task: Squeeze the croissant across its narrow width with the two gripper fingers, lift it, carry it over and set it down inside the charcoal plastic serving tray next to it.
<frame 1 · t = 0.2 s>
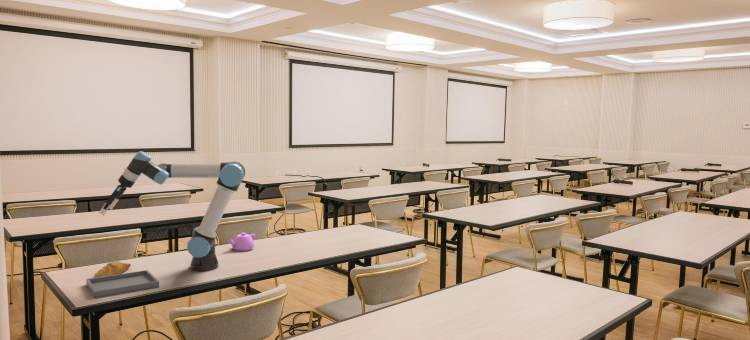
hand: (105, 211, 272), 35 cm above the table, tool tilted 35°, fingers open, 13 cm apart
croissant: (112, 274, 280), on the table
teapot: (242, 249, 338), on the table
serving tray: (122, 285, 261), on the table
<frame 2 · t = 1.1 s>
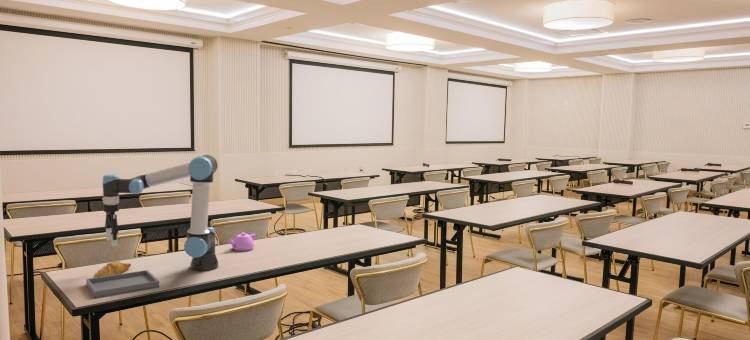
hand: (111, 243, 278), 17 cm above the table, tool pointing down, fingers open, 13 cm apart
nothing on the table moved.
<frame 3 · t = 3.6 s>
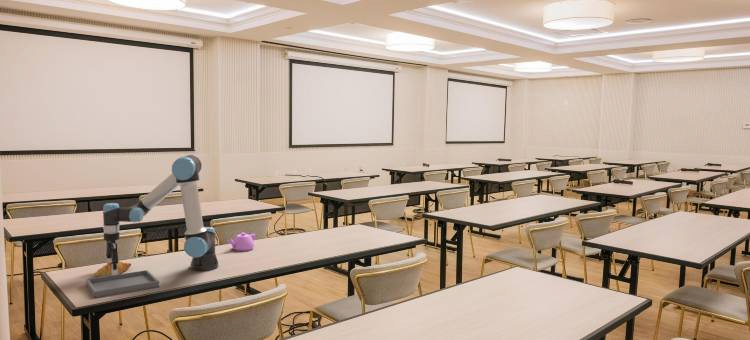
hand: (112, 272, 280), 0 cm above the table, tool pointing down, fingers closed on croissant, 10 cm apart
croissant: (112, 273, 280), on the table, touching gripper
everything else where it was.
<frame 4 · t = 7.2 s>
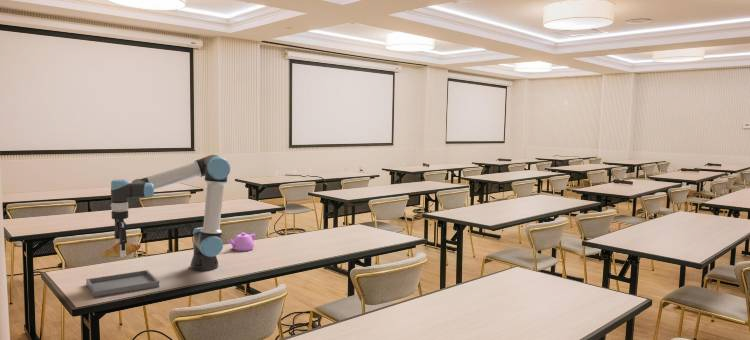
hand: (120, 253, 262), 16 cm above the table, tool pointing down, fingers closed on croissant, 10 cm apart
croissant: (120, 255, 262), point 15 cm above the table, touching gripper
everything else where it was.
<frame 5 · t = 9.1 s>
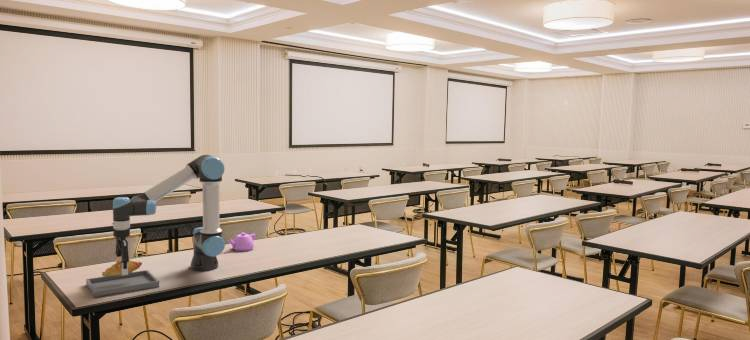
hand: (122, 272, 260), 7 cm above the table, tool pointing down, fingers closed on croissant, 10 cm apart
croissant: (122, 273, 261), point 6 cm above the table, touching gripper
everything else where it was.
when the fingers open (3 cm above the table, at t = 11.0 s): croissant drops 1 cm, resting on serving tray.
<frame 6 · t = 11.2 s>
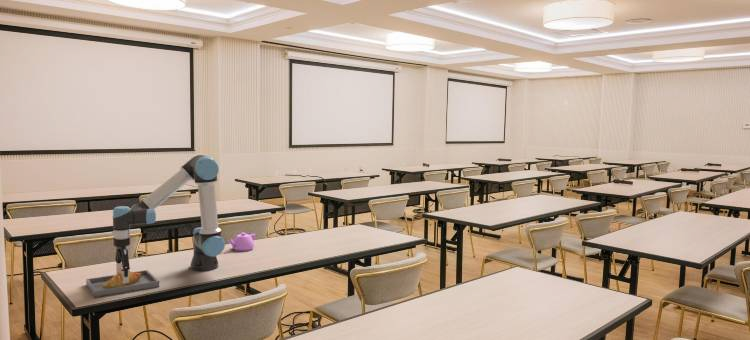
hand: (122, 279, 261), 3 cm above the table, tool pointing down, fingers open, 13 cm apart
croissant: (122, 284, 261), point 1 cm above the table, touching serving tray
everything else where it was.
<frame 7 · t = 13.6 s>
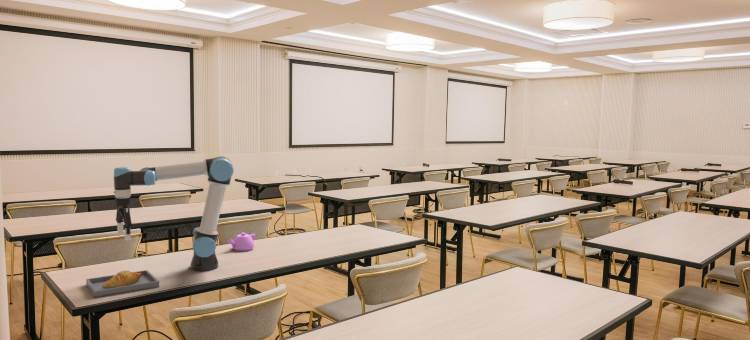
hand: (124, 237, 269), 22 cm above the table, tool pointing down, fingers open, 13 cm apart
nothing on the table moved.
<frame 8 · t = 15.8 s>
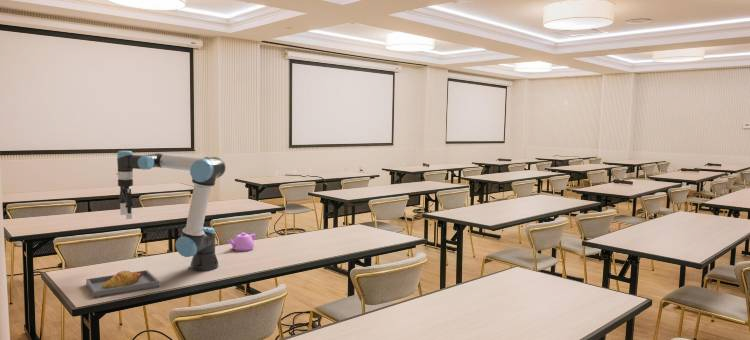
hand: (126, 216, 289), 29 cm above the table, tool pointing down, fingers open, 13 cm apart
nothing on the table moved.
at the end: croissant inside the target area on the serving tray (0.3 cm from its centre), point 0.6 cm above the serving tray's base; the gripper is holding nothing; croissant moved 23.8 cm from its start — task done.
